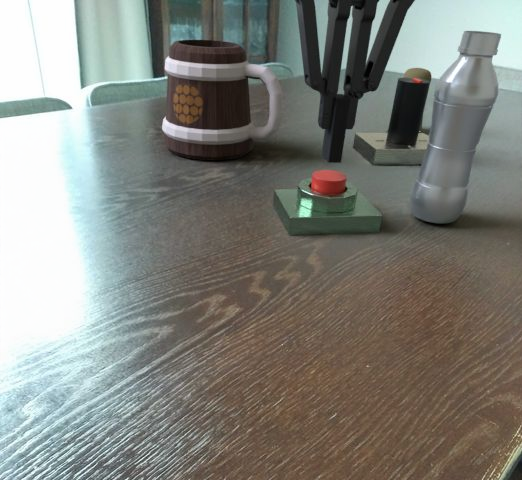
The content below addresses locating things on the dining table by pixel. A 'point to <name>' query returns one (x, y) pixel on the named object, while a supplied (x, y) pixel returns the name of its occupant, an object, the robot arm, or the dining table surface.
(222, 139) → the mug
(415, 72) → the cork
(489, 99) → the plastic bottle
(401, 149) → the base
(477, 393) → the dining table surface
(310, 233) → the button box
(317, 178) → the button
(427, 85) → the black battery
